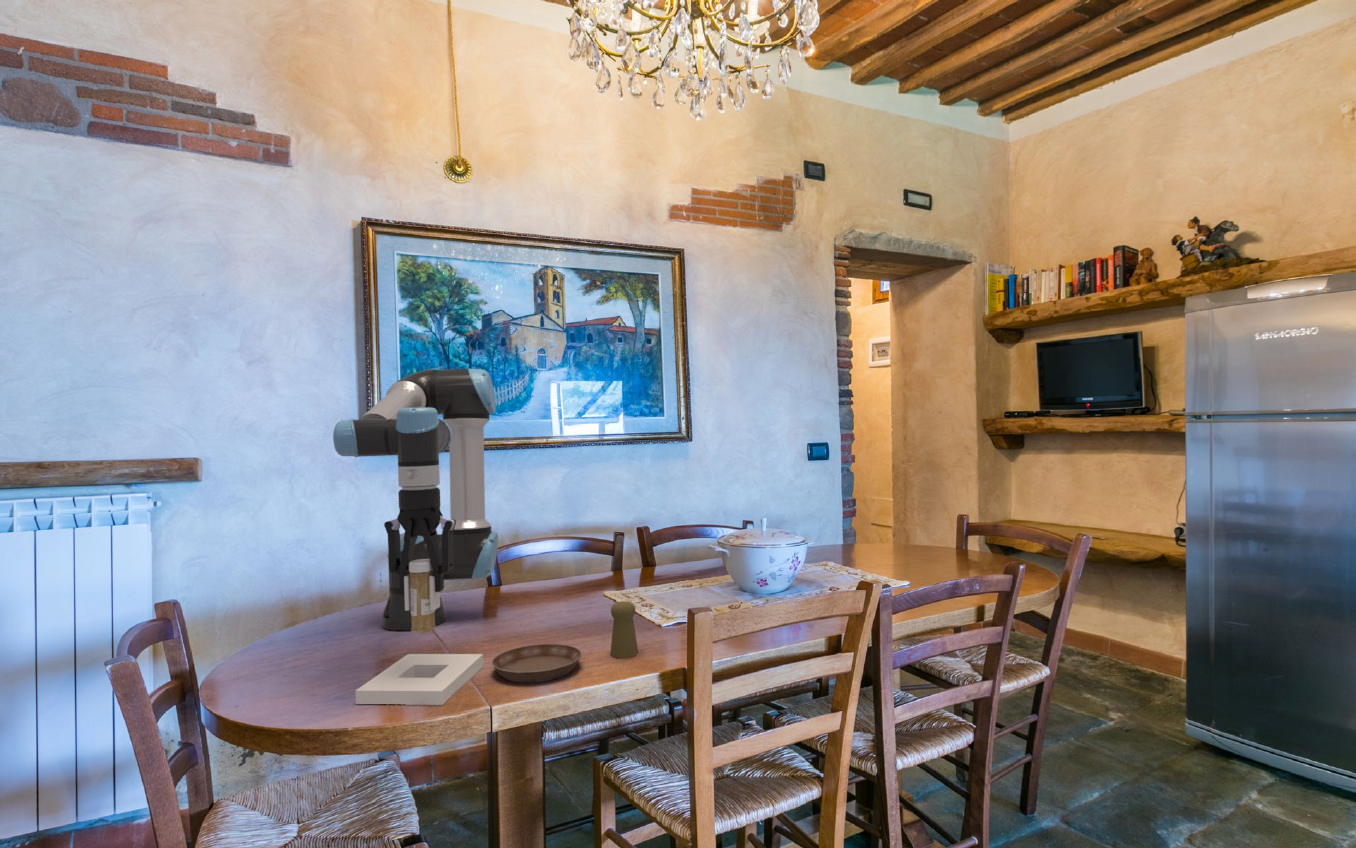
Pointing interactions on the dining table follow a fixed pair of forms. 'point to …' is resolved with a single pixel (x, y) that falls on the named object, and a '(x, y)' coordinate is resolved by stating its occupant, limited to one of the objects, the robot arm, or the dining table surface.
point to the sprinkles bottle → (421, 596)
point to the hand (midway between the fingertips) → (422, 608)
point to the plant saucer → (536, 662)
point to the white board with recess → (420, 679)
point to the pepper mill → (623, 631)
